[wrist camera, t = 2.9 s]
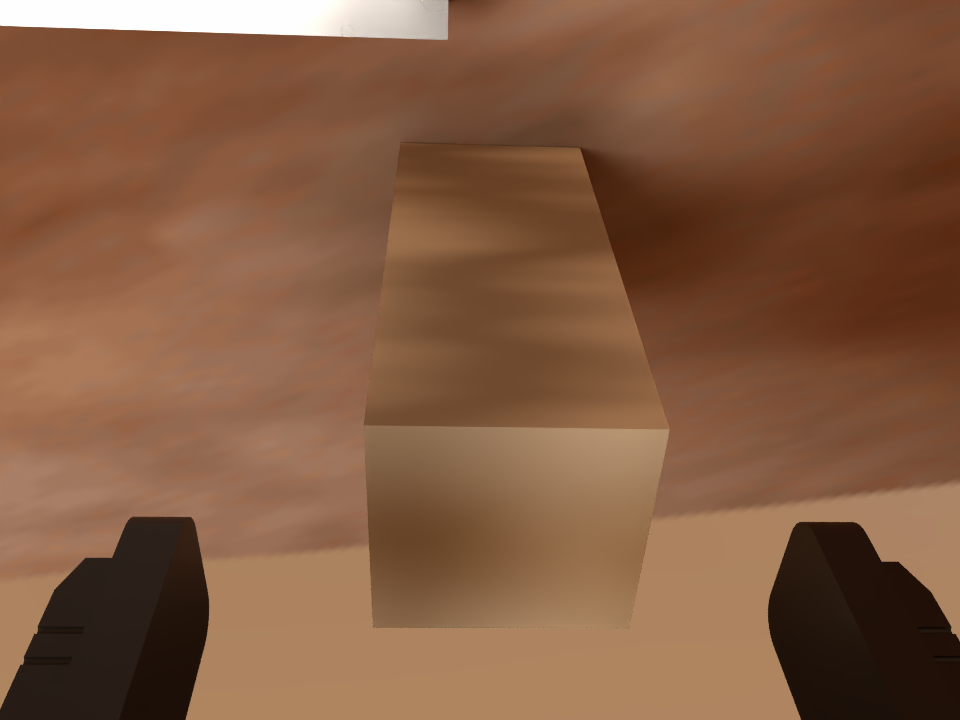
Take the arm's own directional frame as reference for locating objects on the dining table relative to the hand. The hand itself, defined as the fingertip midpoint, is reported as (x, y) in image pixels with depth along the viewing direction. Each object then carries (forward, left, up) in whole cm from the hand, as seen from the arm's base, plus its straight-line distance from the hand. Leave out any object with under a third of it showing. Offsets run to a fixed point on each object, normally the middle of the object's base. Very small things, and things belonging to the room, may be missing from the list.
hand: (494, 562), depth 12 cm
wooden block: (0, 0, -11) cm, 11 cm away
